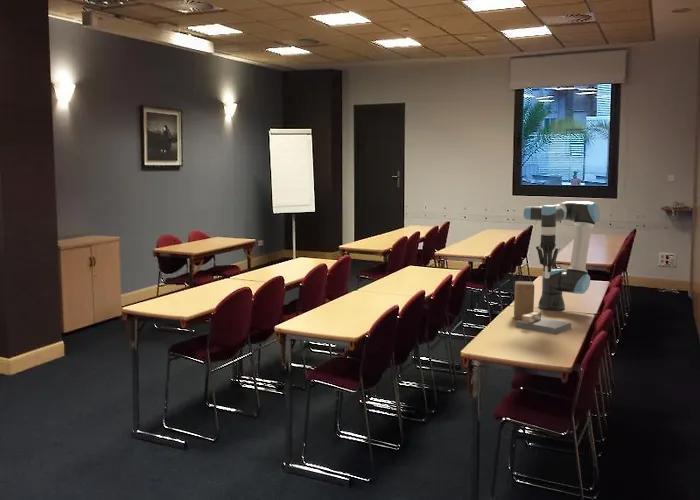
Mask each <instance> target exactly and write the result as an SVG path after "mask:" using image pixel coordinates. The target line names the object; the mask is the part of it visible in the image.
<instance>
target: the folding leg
mask: <svg viewBox="0 0 700 500" xmlns="http://www.w3.org/2000/svg"><path fill="white" fill-rule="evenodd" d="M541 318H542V311H539V310H535V311H534V312H532V313H529V314H526V315H524V316H522V319H521V320H522V323H527V324H529V323H531V322H534V321H536V320H539V319H541Z"/></svg>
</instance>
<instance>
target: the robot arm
mask: <svg viewBox="0 0 700 500" xmlns="http://www.w3.org/2000/svg"><path fill="white" fill-rule="evenodd" d="M523 218H524V219H525V220H528V221H540V222H541V223H540V234H541V235H540V244H539V245H538V246H537V245H536V246H535V248H536V250H537V256H538V259H539V260H538V261H539V264H540V265H542V267H543V270H542V279H541V281H542V283H541V284H542V285H541V286H542V287H541V296H540V297H539V301H538V304H537V305H538V306H537V307H539V309H543V310H549V311H560V310H562V311H563V310H565V308H566V304H565V300H564V297H563V293H568V294H569V293H571V294H576V295H582V294H585V293H586V292H587V291H588V289H589V287H590V285H591V284H590V283H591V276H590V275H589V274H588V273H589V272H588V270H587V269H586V266H587V260H588V252H589V248H590V247H589V246H590V239H591V234H592V233H591V232H592V228H594V227H595V226H596V223H598V222H599V221H600V218H601V210H600V207H599V204H597V203H596V202H594V201H576V200H575V201H574V200H571V201H569V200H568V201H562V202H557V203H555V204H553V205H552V204H544V205H540V206H539V205H538V206H531V205H530V206H525V207H524V209H523ZM563 220H564V221H573V224H574V226H575V231H574V236H573V237H574V238H573V245H572V251H571V257H570V263H569V266H568V267H567V268H566V271H564V269H563V268H552V267H553V266H555V265H556V262H557V257H558V254H559V252H560V250H561V248H560V247H558V246H557V244H556V238H557V237H556V232H557V231H556V230H557V229H556V228H557V226H556V224H557V222H561V221H563ZM553 251H554V252H553Z"/></svg>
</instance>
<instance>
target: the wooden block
mask: <svg viewBox="0 0 700 500" xmlns="http://www.w3.org/2000/svg"><path fill="white" fill-rule="evenodd" d="M534 301H535V283H534V281H525V280H524V281H523V280H516V281H515V282H514V301H513V302H514V303H513V317H514V319H515V320H522V315H523V314H529V313H532V312H535V311H534V308H535V307H534V305H535V302H534Z"/></svg>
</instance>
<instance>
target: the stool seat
mask: <svg viewBox="0 0 700 500" xmlns="http://www.w3.org/2000/svg"><path fill="white" fill-rule="evenodd" d="M524 315H526V314H523V315H522V316H524ZM515 324H516V328H521V329H527V330H532V331H537V332H541V333H547V334H552V335H556V334H557V335H558V334H559V333H562V332H566V331H569V330H570V329H572V322H569V321H562V320H557V319H552V318H548V317H547V318H546V317H541V319H539V320H536V321H534V322H531V323H529V324H527V323H522V319H518V320H517V321H516V323H515Z"/></svg>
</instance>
